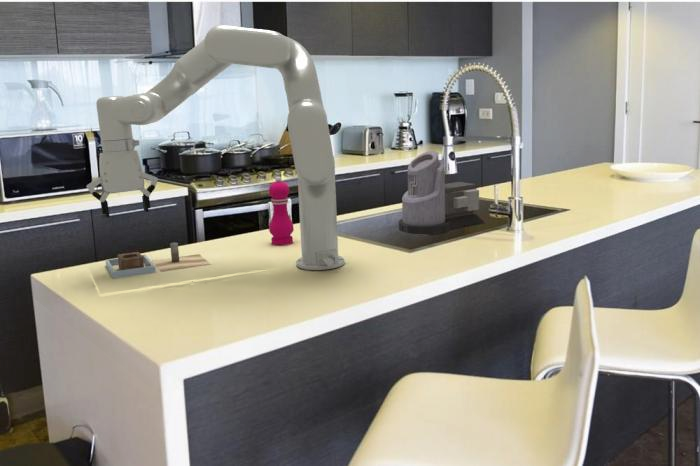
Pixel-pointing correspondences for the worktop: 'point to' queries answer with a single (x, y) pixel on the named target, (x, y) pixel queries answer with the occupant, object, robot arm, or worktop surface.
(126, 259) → the collar
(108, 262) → the tray
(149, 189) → the robot arm
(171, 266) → the stake board
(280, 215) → the pepper mill
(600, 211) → the worktop surface
